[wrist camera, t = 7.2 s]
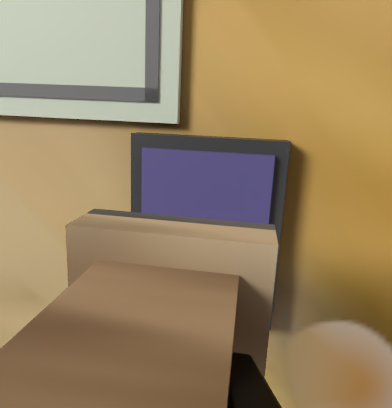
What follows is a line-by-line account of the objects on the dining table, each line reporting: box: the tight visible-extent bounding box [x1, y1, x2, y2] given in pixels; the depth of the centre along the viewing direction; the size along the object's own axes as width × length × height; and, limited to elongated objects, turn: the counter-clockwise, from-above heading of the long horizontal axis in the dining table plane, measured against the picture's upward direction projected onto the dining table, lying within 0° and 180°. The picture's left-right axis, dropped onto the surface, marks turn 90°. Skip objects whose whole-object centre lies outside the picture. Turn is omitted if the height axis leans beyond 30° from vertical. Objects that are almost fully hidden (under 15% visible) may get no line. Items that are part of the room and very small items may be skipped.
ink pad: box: [131, 132, 291, 330], centre depth 17 cm, size 9×7×1 cm
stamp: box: [0, 209, 278, 408], centre depth 7 cm, size 5×5×7 cm
